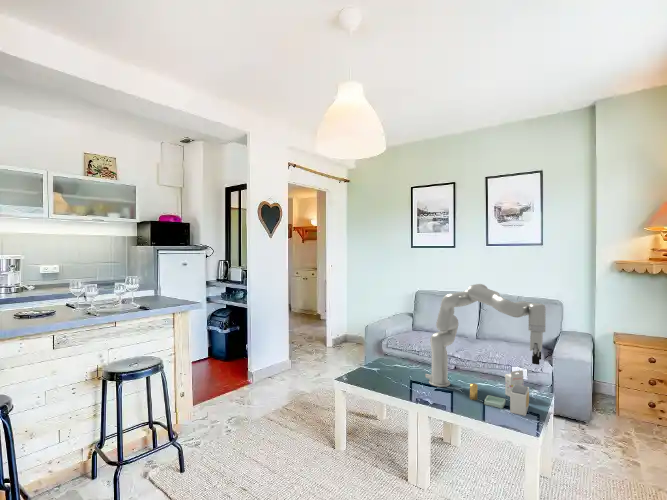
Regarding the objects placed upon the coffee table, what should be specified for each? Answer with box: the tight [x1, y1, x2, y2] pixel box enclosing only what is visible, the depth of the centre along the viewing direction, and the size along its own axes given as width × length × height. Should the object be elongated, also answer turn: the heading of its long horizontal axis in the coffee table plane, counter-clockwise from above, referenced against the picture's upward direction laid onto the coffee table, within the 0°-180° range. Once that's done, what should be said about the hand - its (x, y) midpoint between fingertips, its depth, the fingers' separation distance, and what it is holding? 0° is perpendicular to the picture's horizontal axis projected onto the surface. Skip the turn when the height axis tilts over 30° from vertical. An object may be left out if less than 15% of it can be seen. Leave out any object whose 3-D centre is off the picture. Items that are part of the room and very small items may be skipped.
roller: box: [469, 382, 479, 401], centre depth 203 cm, size 4×4×8 cm
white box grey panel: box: [509, 384, 530, 417], centre depth 190 cm, size 7×14×11 cm, turn 146°
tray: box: [483, 394, 507, 410], centre depth 197 cm, size 9×9×2 cm
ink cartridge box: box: [504, 370, 524, 397], centre depth 208 cm, size 9×5×15 cm, turn 105°
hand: (536, 361), depth 185 cm, fingers open, 9 cm apart
